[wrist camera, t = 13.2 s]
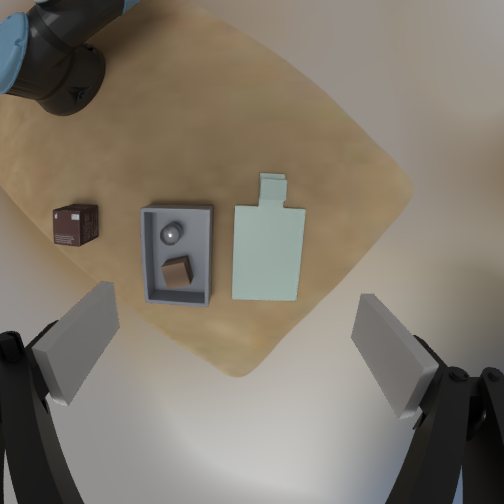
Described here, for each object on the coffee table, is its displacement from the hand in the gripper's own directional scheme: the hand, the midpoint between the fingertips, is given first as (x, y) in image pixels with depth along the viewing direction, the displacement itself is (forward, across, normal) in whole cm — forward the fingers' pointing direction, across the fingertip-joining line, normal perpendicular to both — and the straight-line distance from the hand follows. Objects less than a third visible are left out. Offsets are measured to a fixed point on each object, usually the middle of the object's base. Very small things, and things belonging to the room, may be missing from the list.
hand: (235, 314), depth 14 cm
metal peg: (+34, -11, -4) cm, 36 cm away
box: (+35, -29, -2) cm, 45 cm away
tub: (+35, -10, -7) cm, 37 cm away
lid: (+35, +5, -4) cm, 35 cm away
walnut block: (+34, -10, -10) cm, 37 cm away
